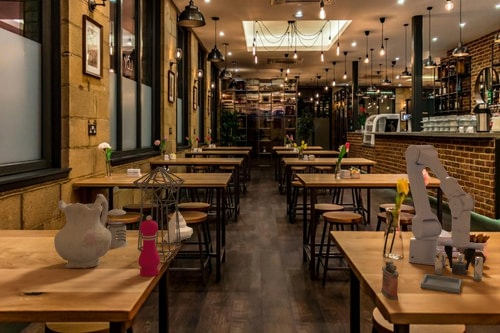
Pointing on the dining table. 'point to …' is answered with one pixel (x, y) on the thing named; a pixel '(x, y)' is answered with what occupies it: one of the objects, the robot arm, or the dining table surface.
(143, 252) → the pepper mill
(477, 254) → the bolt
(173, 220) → the soft serve ice cream
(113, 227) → the french press
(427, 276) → the tray
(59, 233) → the ceramic pitcher
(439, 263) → the spacer field
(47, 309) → the dining table surface
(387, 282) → the lighter
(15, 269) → the dining table surface
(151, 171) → the geometric lantern
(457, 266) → the nut
